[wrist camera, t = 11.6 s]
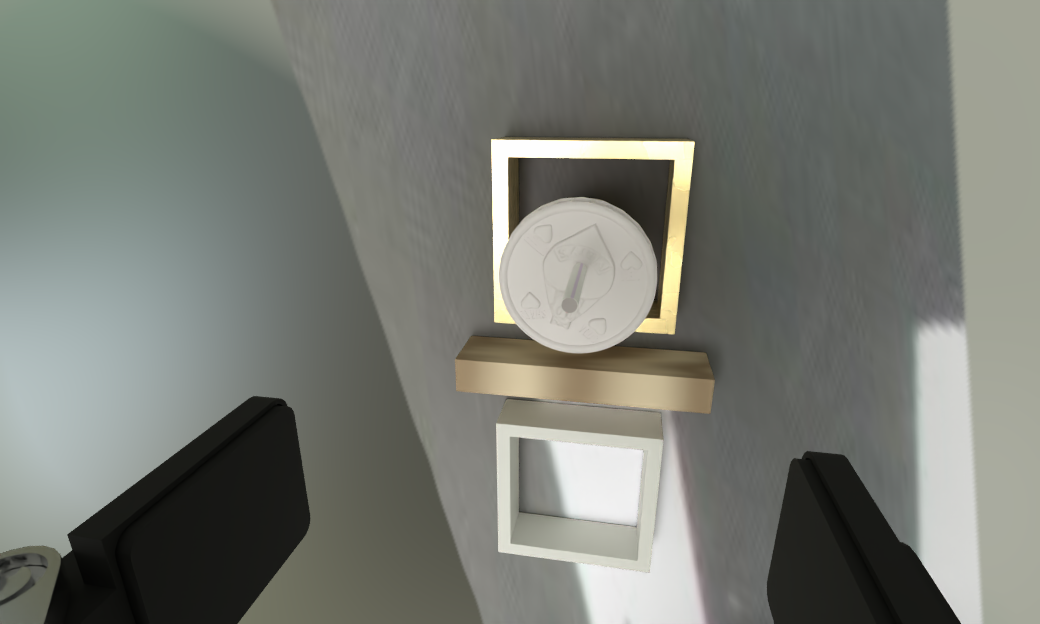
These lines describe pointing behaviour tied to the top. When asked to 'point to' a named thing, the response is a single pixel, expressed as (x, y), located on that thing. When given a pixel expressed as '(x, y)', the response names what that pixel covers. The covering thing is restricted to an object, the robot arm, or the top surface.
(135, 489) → the robot arm
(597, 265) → the smoothie
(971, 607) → the top surface
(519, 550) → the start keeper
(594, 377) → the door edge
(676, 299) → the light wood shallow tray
